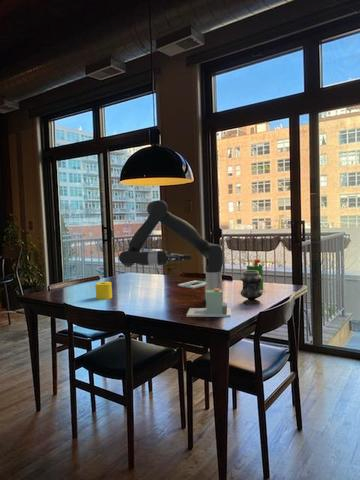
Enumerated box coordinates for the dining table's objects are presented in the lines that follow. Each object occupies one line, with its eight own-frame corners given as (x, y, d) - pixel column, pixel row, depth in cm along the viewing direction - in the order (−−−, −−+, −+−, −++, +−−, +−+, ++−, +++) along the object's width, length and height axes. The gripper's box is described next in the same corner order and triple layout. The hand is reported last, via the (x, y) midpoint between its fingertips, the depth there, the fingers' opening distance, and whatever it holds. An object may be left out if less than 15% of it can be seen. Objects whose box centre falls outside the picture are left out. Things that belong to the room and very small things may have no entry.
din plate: (186, 316, 189) (186, 306, 188) (189, 310, 201) (189, 300, 201) (230, 316, 185) (230, 306, 185) (231, 310, 198) (230, 300, 197)
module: (206, 313, 188) (205, 290, 188) (207, 310, 194) (206, 287, 193) (222, 314, 187) (221, 290, 186) (223, 310, 193) (222, 287, 192)
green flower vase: (256, 286, 253) (255, 257, 252) (266, 288, 246) (265, 258, 244) (245, 289, 248) (244, 259, 246) (255, 291, 240) (254, 260, 239)
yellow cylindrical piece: (111, 295, 245) (110, 281, 245) (113, 298, 236) (112, 283, 235) (95, 297, 242) (94, 282, 242) (96, 300, 233) (96, 285, 232)
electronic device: (193, 286, 256) (178, 283, 267) (193, 289, 256) (178, 287, 267) (210, 281, 269) (195, 279, 280) (210, 285, 269) (195, 282, 280)
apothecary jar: (266, 302, 211) (266, 270, 209) (254, 306, 203) (253, 273, 201) (249, 299, 220) (248, 268, 218) (236, 303, 211) (235, 271, 210)
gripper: (154, 252, 186) (189, 251, 184) (160, 249, 199) (192, 248, 197) (155, 267, 187) (190, 266, 184) (161, 263, 200) (193, 262, 197)
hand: (191, 257), depth 190 cm, fingers closed
